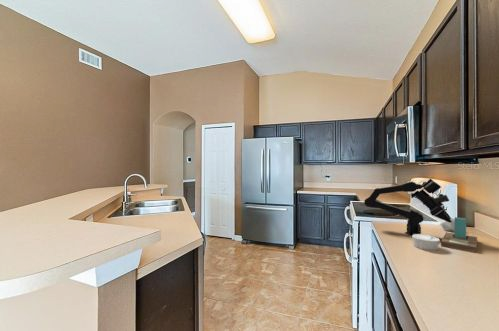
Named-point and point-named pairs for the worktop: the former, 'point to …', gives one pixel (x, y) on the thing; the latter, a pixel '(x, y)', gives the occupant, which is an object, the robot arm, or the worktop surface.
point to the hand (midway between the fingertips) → (450, 220)
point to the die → (447, 225)
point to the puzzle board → (459, 242)
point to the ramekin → (425, 242)
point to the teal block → (460, 227)
